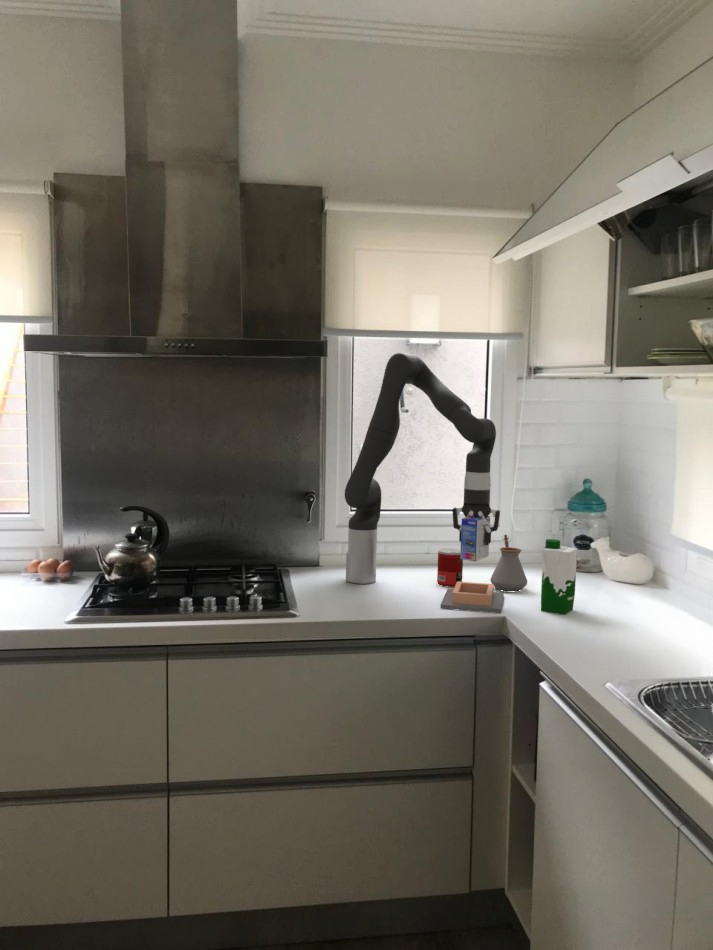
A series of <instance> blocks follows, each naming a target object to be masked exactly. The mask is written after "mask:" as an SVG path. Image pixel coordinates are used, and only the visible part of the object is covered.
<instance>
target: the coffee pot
mask: <svg viewBox="0 0 713 950" xmlns="http://www.w3.org/2000/svg"><path fill="white" fill-rule="evenodd" d="M503 537H504V538H503ZM501 538H502V540H504V546H505V547H500V548H499V550H500V553H501V555H500V558H499V560H498V562H497V564H496V566H495V569H494V570H493V572H492V574H491V577H490V584H494V587H495V589H496V588H497V589H499V590H503V591H502V592H504V591H519V590H521V591H522V589H524V588H525V587H526V586H527V585H528V579H527V576H526V573H525V571H524V568H523V565H522V563H521V560H520V557H519V555H520V554H521V552H522V549H520V548H517V547H510V546H509V545H510V543H509V538H510V536H508V535H507V534H504V535H503V536H501ZM497 589H496V590H497ZM499 590H498V591H499ZM519 592H520V591H519Z"/></svg>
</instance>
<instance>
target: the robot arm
mask: <svg viewBox="0 0 713 950" xmlns="http://www.w3.org/2000/svg"><path fill="white" fill-rule="evenodd" d="M406 384H407V385H412V386H414V387H416V388H417V389H419V390H421V391H422V392H423V393H424V394H425V395H426V396H427V397H428V398H429V400H430V402H431V403H432V405H433V407H434V408H435V409H436V410H437V411H438V412H439V413H440V415H442V416H443V417H444V418H445V419H446V420H448V422H450V423H452V424H453V426H454V428H455V429H456V431H457V432H458V433H459V435H460V436H461V437H462V438H463V439H464V440H466V441H468V442H469V443H472V444H473V445H472V449H471V450H470V451H469V452H467V454H466V459H465V474H464V482H463V483H464V484H463V486H464V487H463V504H462V507H453V508H452V511H451V512H452V521H453V522H452V525H453V528H454V529H455V530H458V531H459V534H458V535H459V536H458V537H459V538H458V539H459V542H460V543H461V525H462V524H459V516H460V515H461V512H462V514H463V516H464V518H467V517H472V515H474V517H479V518H483V525H484V526H485V528H486V530H487V532H486V545H488V544H489V545H490V544H491V543H492V533H493V532H497V531H498V528H499V523H500V516H501V510H500V509H493V508H491V505H490V504H491V487H492V485H491V480H492V479H491V459H492V458H491V457H492V453H493V451H494V446H495V444H496V443H495V442H496V437H497V430H496V425H495V424H494V422H493V421H492V420H491V419H489V418H483V417H481V418H478V417H476V416H474V415H473V414H472V409H471V407H470V406H469V405H468V404H467V402H465V401H464V400H463V399H461V398H460V397H459V396H458V395H457V394H455V393H454V392H453V391H452V390H451V389H449V387H447V386H446V385H445V384H444V383H443V382H442V381H441V380H440V378H438V377H437V376H436V374H434V372H433V371H432V370H431V369H430V367H429V366H428V365H427V363H425V362H424V360H423V359H422V358H421V357H419V356H418V355H416V354H414V353H408V352H397V353H394V354H393V355H391V356H390V358H389V359H388V361H387V363H386V366H385V369H384V374H383V377H382V383H381V387H380V390H379V395H378V398H377V400H376V404H375V408H374V411H373V414H372V416H371V419H370V422H369V425H368V427H367V431H366V433H365V437H364V441H363V443H362V446H361V448H360V451H359V454H358V457H357V461H356V463H355V465H354V468H353V469H352V472H351V474H350V476H349V479H348V481H347V483H346V485H345V489H344V499H345V502H346V504H347V505H348V506H349V507H350V508H352V509H355V512H354V514H353V515H352V516H351V517H349V520H348V527H347V528H348V533H347V535H348V536H347V537H348V538H347V551H346V554H345V556H346V557H345V558H346V559H345V582H346V583H352V584H359V585H360V584H361V585H363V584H365V585H367V584H373V583H375V582H376V580H377V579H376V578H377V550H378V549H377V546H378V545H377V543H378V542H377V541H378V523H379V521H380V519H381V518H380V517H381V510H382V509H381V508H382V507H381V506H382V489H381V486H380V483H379V482H378V481H377V480H376V479H374V476H375V473H376V472H377V470H378V468H379V466H380V465H381V464H382V462H383V461H384V460H385V459H386V457H387V456H388V455H389V453H390V452H391V450H392V449H393V448H394V447H393V446H394V444H395V442H396V441H397V440H396V439H397V436H398V433H399V430H400V428H401V427H400V425H401V417H400V415H401V414H400V400H401V396H402V393H403V392H404V391H403V390H404V389H405V386H406ZM470 509H471V511H470ZM490 514H492V517H493V518H494V521H493V526H491V524H490V525H489V522H488V520H487V521H486V518H487V517H488V516H490ZM484 521H485V522H484Z"/></svg>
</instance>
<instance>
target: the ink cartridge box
mask: <svg viewBox="0 0 713 950" xmlns="http://www.w3.org/2000/svg"><path fill="white" fill-rule="evenodd" d="M470 511H471V509H470ZM487 520H488V522H489V525H490V526H491V516H490V515H488V517H487V518H486V521H487ZM484 522H485V521H484ZM460 525H461V542H460V550H461V554H460V559H463V561H470V562H474V563H475V562H478V561H480V560H483V559H485V558H487V557H489V555H490V554H489V552H490V544H488V545H486V532H487V530H486V528H485V526H484V525H483V518H479V517H474V515H472V517H467V518H466V517H464V518H461V524H460Z"/></svg>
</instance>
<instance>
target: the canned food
mask: <svg viewBox="0 0 713 950" xmlns="http://www.w3.org/2000/svg"><path fill="white" fill-rule="evenodd" d="M437 551H438V552H437V571H436V572H437V574H436V575H437V576H436V577H437V580H436V581H437V582H436V583H437V584H439V585H438V586H440V585H442V587H445V586H448V587H447V588H455V585H456V583H457V581H458V582H463V571H464V570H463V568H464V567H463V566H464V564H463V563H464V560H463V559H460V554H461V549H457V548H441V549H440V548H439V549H438V550H437Z"/></svg>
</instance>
